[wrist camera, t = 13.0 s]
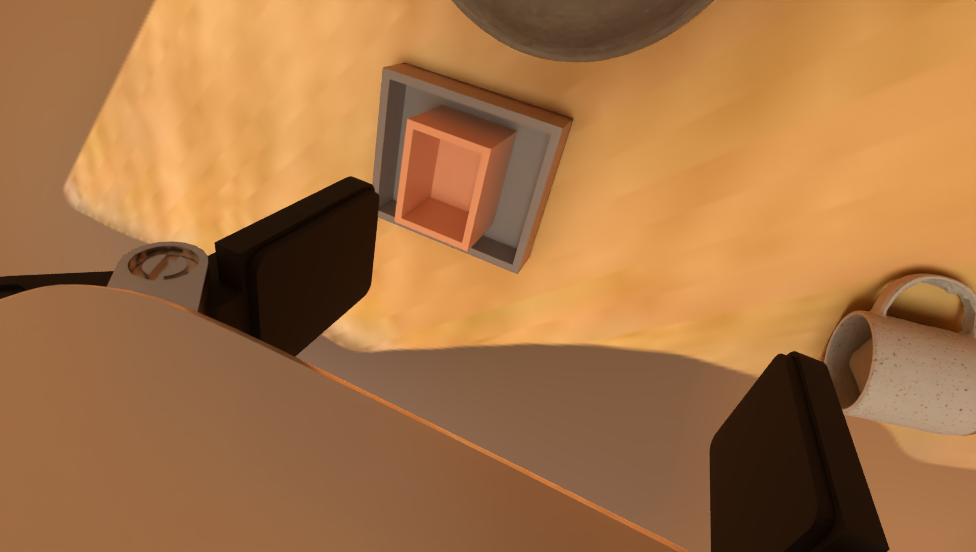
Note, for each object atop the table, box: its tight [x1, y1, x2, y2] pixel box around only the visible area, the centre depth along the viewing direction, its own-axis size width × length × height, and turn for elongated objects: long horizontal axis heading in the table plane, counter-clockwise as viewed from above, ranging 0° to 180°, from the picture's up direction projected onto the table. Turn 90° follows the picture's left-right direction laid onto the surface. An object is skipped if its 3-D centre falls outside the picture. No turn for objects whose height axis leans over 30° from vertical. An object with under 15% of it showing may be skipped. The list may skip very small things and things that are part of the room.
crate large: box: [372, 63, 573, 274], centre depth 42 cm, size 13×15×4 cm
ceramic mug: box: [824, 273, 976, 436], centre depth 34 cm, size 11×8×8 cm
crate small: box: [394, 105, 517, 251], centre depth 41 cm, size 9×7×6 cm
